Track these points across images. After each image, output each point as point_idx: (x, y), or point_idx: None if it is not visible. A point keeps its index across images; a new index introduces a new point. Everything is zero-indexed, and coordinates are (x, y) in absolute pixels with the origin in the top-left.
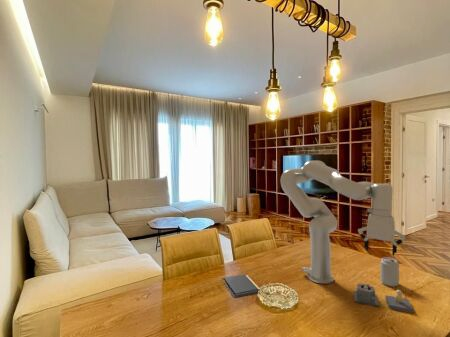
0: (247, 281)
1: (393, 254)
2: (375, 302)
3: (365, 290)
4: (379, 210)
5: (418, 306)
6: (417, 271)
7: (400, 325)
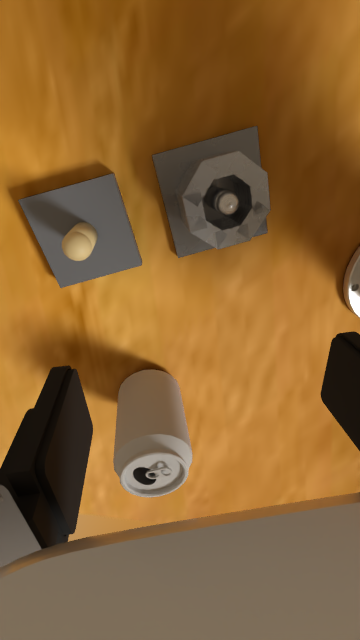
0: None
1: (60, 368)
2: (171, 174)
3: (226, 161)
4: None
5: (24, 276)
6: (88, 512)
7: (37, 16)
